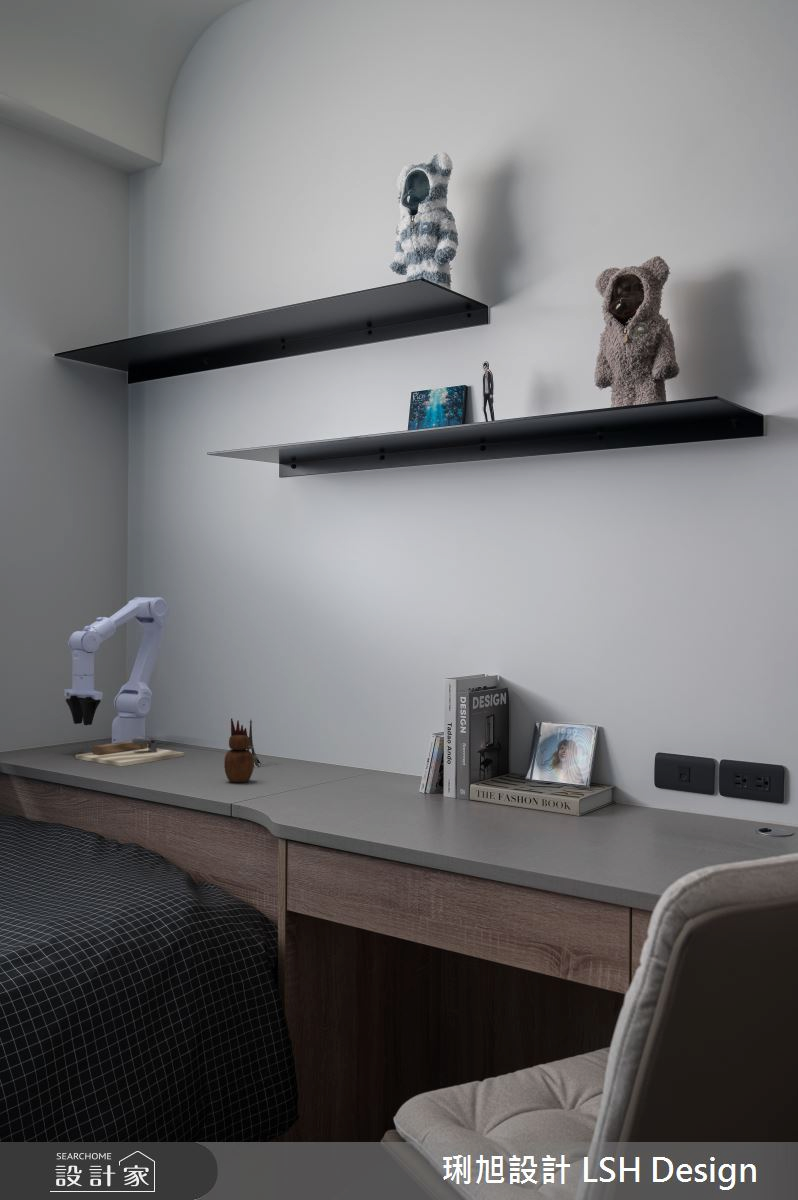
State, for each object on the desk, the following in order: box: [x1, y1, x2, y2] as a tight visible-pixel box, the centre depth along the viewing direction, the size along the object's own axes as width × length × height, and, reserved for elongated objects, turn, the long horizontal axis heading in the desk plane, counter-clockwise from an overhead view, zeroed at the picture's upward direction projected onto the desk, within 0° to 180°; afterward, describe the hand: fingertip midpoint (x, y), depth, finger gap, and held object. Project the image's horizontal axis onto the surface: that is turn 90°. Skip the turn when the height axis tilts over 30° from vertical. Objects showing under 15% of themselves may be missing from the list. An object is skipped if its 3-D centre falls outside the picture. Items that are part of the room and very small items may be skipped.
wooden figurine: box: [223, 718, 255, 783], centre depth 228 cm, size 7×6×15 cm
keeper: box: [132, 737, 158, 753], centre depth 264 cm, size 4×6×3 cm, turn 114°
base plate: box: [75, 747, 185, 767], centre depth 261 cm, size 19×21×1 cm
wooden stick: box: [92, 737, 148, 755], centre depth 265 cm, size 16×3×3 cm, turn 144°
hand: (82, 724), depth 265 cm, fingers open, 4 cm apart
